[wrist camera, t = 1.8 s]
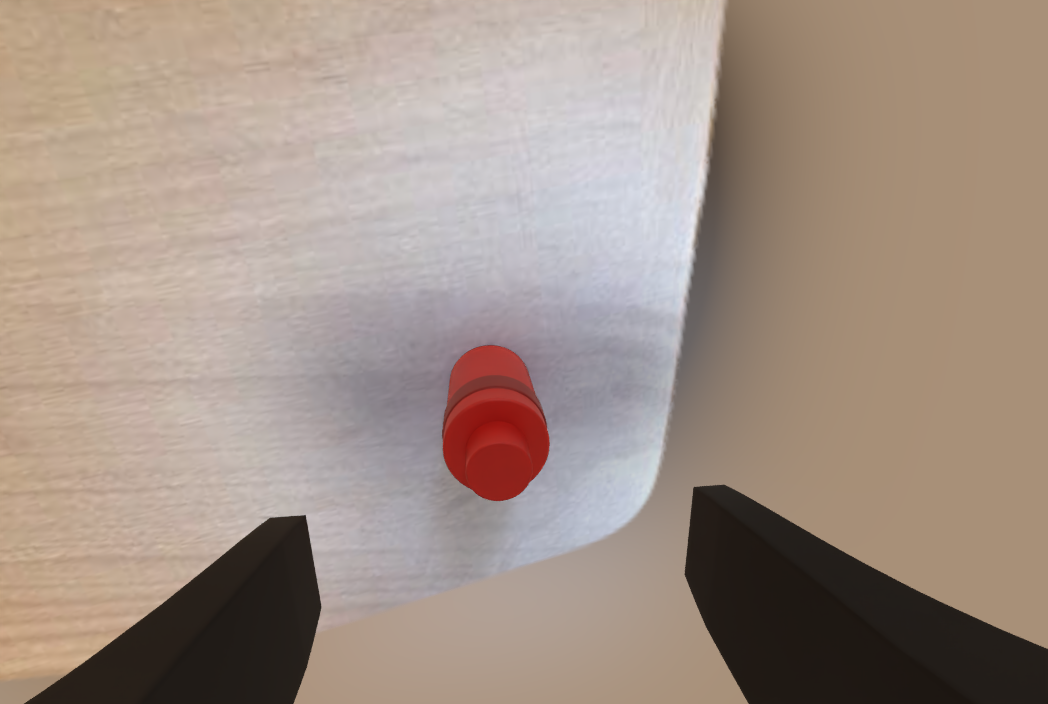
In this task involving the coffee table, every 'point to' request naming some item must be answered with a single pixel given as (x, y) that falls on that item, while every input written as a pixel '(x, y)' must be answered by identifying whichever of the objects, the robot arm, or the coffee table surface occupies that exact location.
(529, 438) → the red bottle
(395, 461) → the coffee table surface
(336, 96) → the coffee table surface
